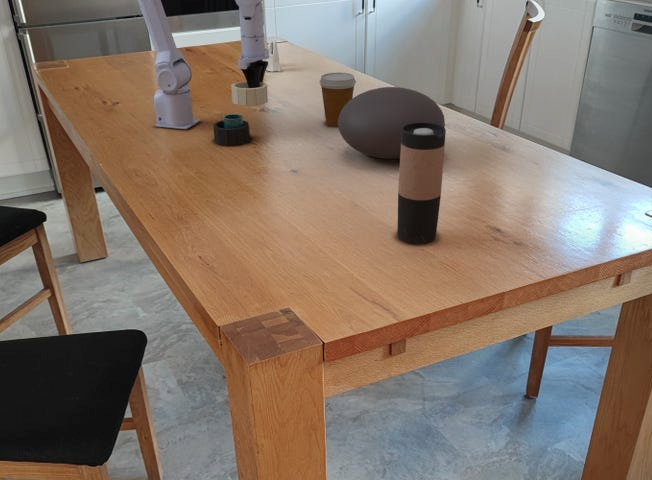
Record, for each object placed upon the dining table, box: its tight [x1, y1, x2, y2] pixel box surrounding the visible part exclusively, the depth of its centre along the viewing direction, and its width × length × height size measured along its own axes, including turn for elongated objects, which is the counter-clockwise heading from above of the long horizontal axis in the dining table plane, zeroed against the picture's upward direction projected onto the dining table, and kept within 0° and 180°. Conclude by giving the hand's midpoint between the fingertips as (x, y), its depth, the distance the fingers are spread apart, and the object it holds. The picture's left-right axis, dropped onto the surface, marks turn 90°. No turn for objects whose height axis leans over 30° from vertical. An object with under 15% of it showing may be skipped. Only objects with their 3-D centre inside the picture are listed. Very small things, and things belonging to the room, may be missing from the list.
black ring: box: [212, 119, 251, 147], centre depth 181 cm, size 9×9×4 cm
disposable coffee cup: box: [319, 72, 357, 127], centre depth 190 cm, size 10×10×12 cm
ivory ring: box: [230, 81, 269, 107], centre depth 181 cm, size 9×9×4 cm
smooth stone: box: [337, 86, 446, 160], centre depth 168 cm, size 25×25×15 cm
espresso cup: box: [222, 113, 244, 129], centre depth 180 cm, size 5×5×6 cm
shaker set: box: [262, 32, 282, 72], centre depth 243 cm, size 12×4×11 cm, turn 34°
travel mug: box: [397, 122, 447, 246], centre depth 128 cm, size 8×8×20 cm
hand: (255, 92), depth 184 cm, fingers closed on ivory ring
